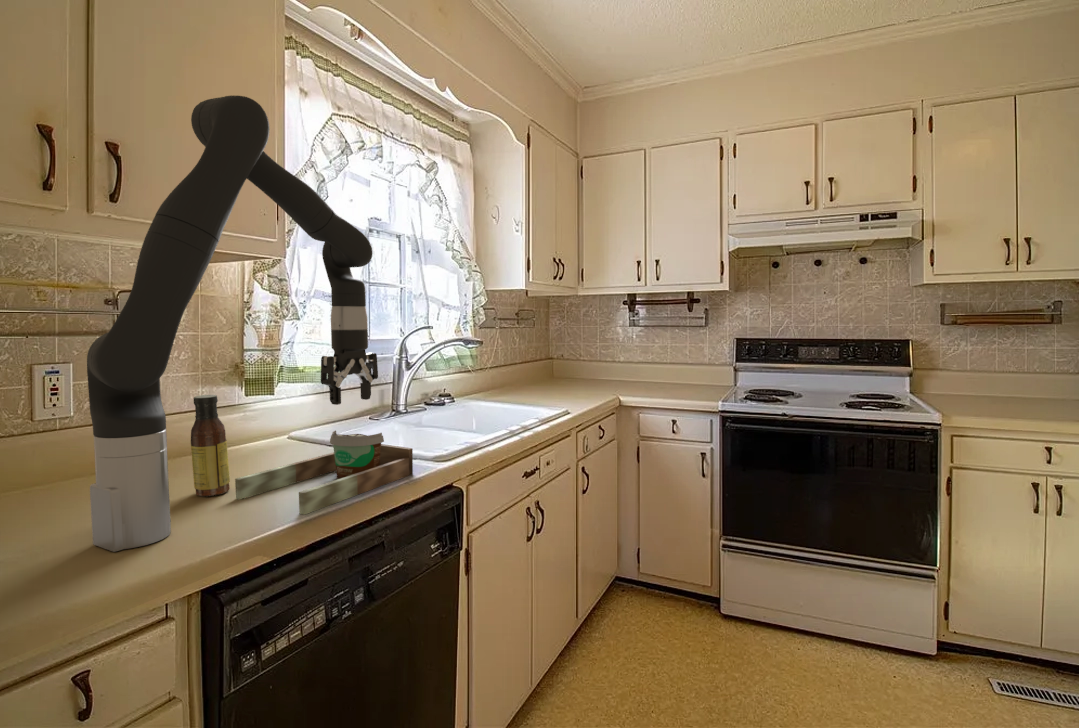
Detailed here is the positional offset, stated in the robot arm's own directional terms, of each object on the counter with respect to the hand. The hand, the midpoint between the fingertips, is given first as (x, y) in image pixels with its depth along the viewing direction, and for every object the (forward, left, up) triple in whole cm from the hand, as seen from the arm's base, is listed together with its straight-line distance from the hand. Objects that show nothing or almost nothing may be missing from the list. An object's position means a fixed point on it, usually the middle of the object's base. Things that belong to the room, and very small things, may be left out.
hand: (351, 401), depth 121 cm
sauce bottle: (-21, +17, -17) cm, 32 cm away
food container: (0, 0, -17) cm, 17 cm away
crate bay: (-6, 0, -17) cm, 18 cm away
